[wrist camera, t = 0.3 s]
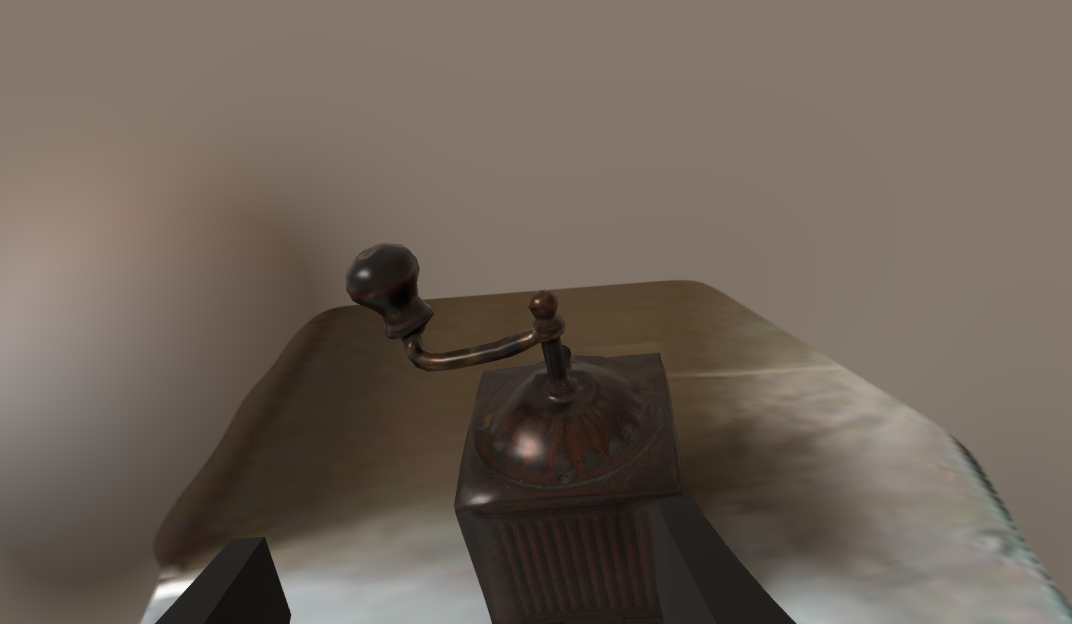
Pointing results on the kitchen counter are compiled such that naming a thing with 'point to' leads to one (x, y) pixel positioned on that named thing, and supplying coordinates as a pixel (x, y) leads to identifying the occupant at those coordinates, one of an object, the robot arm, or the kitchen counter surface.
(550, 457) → the manual coffee grinder
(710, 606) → the robot arm
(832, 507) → the kitchen counter surface
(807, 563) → the kitchen counter surface
